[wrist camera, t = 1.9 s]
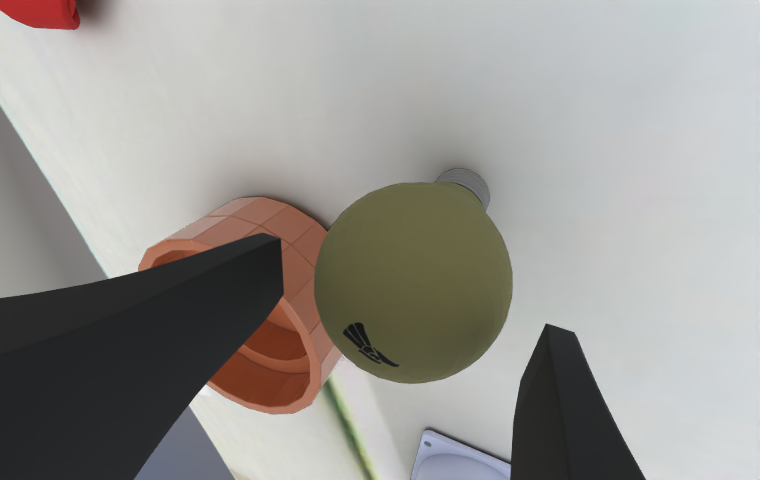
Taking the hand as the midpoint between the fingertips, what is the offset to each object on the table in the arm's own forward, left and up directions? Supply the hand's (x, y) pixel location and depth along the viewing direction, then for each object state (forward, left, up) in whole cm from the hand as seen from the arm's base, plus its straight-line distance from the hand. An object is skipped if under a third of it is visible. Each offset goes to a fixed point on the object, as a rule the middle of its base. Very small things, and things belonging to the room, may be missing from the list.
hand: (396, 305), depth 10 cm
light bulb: (0, 0, -9) cm, 9 cm away
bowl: (-9, +9, -8) cm, 15 cm away
